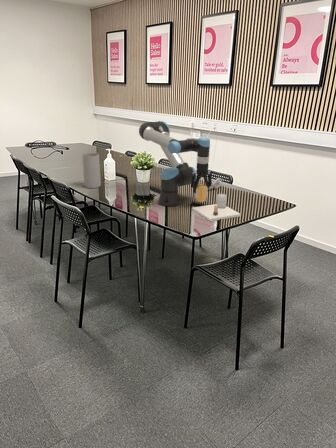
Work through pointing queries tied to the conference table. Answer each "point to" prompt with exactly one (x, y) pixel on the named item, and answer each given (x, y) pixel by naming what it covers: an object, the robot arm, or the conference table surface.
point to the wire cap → (201, 192)
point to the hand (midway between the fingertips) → (200, 196)
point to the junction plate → (210, 211)
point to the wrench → (216, 183)
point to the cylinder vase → (91, 170)
